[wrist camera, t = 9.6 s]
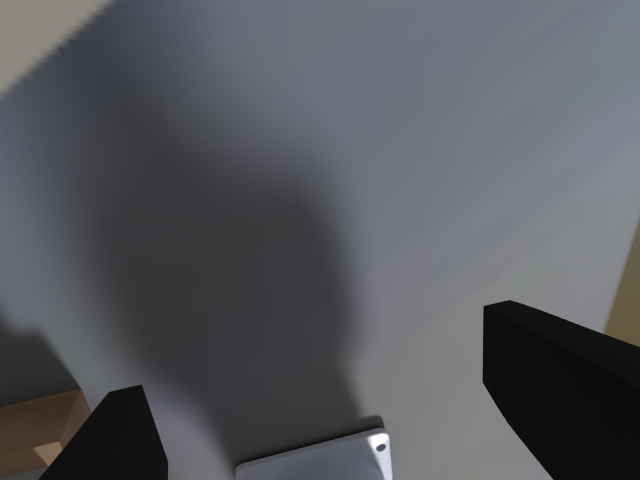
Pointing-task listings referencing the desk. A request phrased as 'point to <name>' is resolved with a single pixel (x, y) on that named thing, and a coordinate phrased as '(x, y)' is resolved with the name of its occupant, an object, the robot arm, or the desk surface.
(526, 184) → the desk surface
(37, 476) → the slate block
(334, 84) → the desk surface
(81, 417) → the brown square box
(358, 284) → the desk surface
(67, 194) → the desk surface
